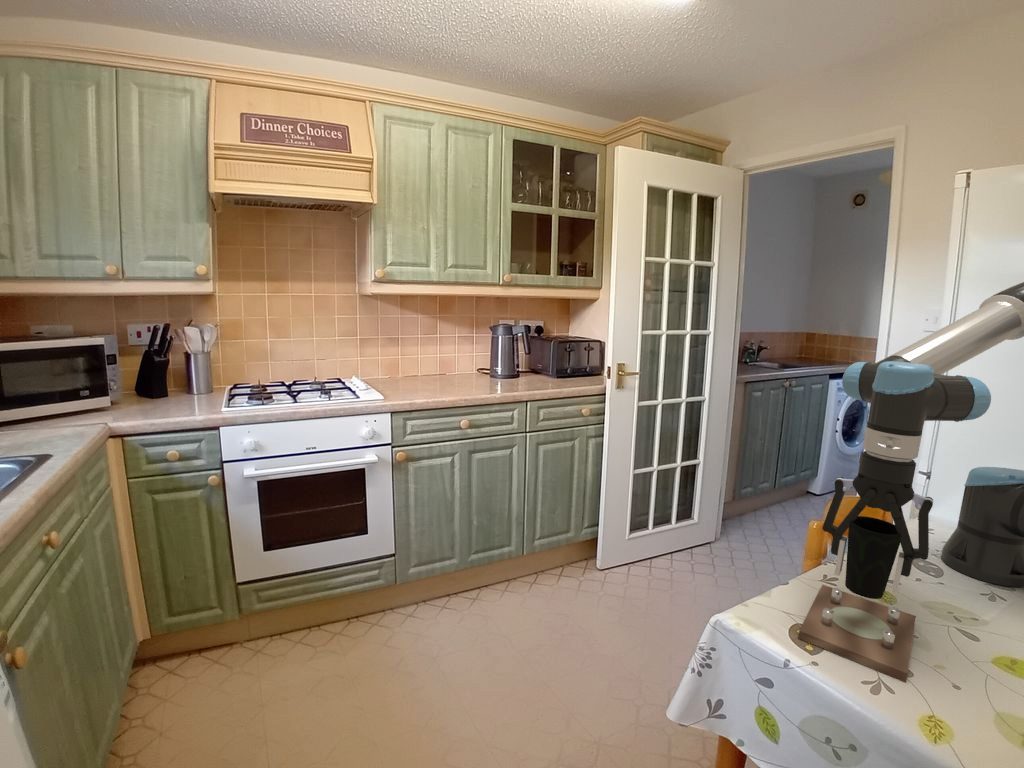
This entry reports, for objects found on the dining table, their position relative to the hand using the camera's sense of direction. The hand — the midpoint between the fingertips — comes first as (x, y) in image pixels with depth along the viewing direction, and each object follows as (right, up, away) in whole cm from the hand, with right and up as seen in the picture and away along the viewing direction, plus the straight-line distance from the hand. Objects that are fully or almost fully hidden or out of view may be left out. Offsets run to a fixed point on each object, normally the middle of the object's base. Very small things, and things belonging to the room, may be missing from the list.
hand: (865, 581), depth 92 cm
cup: (0, -2, 0) cm, 2 cm away
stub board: (0, -9, +2) cm, 10 cm away
